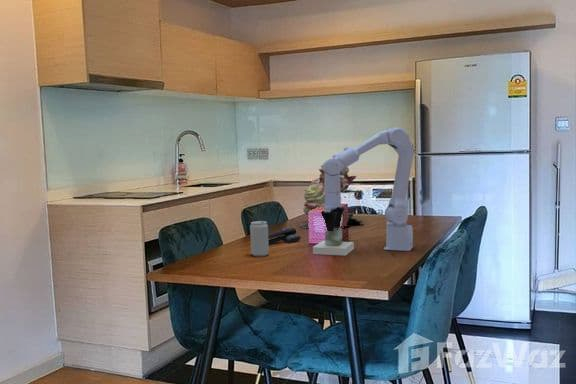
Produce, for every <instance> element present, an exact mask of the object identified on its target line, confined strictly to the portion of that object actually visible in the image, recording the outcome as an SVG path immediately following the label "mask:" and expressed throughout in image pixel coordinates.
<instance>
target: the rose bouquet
mask: <svg viewBox="0 0 576 384" xmlns="http://www.w3.org/2000/svg"><path fill="white" fill-rule="evenodd" d="M323 164H324V162H323ZM323 164H322V165H320V168H319V169H318V170H319V172H320V174H319V177H318V178H315V179H313V180H312V181H311V182H310V184H309V185H308V186H307V188H306V189H304V191H305V194H304V195H303V197H304V199H305V202H304V204H303V207H304V208H303V213H304V214H305V215H307V214H308V212H309V211H310V210H312V209H315V208H317V207H320V206H322V204H325V186H324V179H325V177H324V175H325V172H324V170H323ZM349 172H350V168H349V166H348V167H346V168H345V169H341V172H340V191H341V194H349V193H354V194H355V193H356V194H358V193H359V192H358V191H356V190H350V189H348V188H349V186H350V185H351V183H353V181H354V180H356V178H357V175H351V176H349V174H348V173H349ZM347 215H348V222H349V223H348V224H350V223H351V224H353V225H363V226H364V225H365V224H364V221H363V220H359V219H358V218H354V215H355V212H351V213H348V214H347ZM308 223H309V222H304V223H300V228H301V227H306V228H307V229H308ZM349 227H351V225H349ZM349 227H348V228H349ZM306 228H305V229H306Z"/></svg>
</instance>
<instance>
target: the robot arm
mask: <svg viewBox="0 0 576 384" xmlns="http://www.w3.org/2000/svg"><path fill="white" fill-rule="evenodd" d="M379 145H388V146H389V147H391V148H393V150H394V151H395V152H396V153H397V154H398V156H397V162H396V169H395V174H394V175H395V176H394V180H393V181H394V182H393V187H392V188H393V189H392V193H391V198H389V201H388V205H387V207H386V208H385V210H384V217H385V219H386V220H387V221H386V223H385V224H386V225H385V226H386V227H385V228H386V229H385V233H386V235H385V237H386V242H385V243H386V244H385V246H384V247H383V250H384V251H405V252H409V251H411V250H412V249H413V247H414V241H413V240H414V239H413V238H414V235H413V234H414V233H413V232H414V230H413V229H414V228H413V225H410V224H407V222H408V218H409V214H408V203H407V194H408V188H409V183H410V178H411V177H410V176H411V171H412V165H413V160H414V151H415V150H414V147H413V145H412V143H411V140H410V135H409V133H408V132H407V131H406V130H405V129H404V128H402V127H400V126H399V127H397V126H396V127H388V128H387V129H385V130H382V131H380V132H378V133H376V134H375V135H373V136H371V137H370V138H368V139H367V140H365V141H364V142H362V143H360V144H359V145H358V146H356V147H353V146H349V147H348V146H346V147H344V148H343V150H342V151H340V152H339V153H337V154H333V155H332V158H327V159H326V160H325V161H324V162H323V163H324V164H322V165H323V170H324V172H325V175H324V177H325V179H324V186H325V204H322V206H325V207H324V209H325V211H322V212H321V213H320V215H321V214H322V216H323V218H324V220H325V223H326V224H325V223H324V224H325V225H326V227H327V230H326V231H334V230H335V229H334V228H339V227H340V221H341V217H342V216H343V214H344V212H345V208H344V207H342V202H341V201H342V197H341V196H342V195H341V194H342V193H341V191H340V172H341V169H345V168H346V167H348V168H349V166H352V165H353V164H354V163H357V162H358V161H359V159H360V157H361V155H363V154H364V153H366V152H368V151H371V150H372V149H374V148H375V147H377V146H379ZM322 216H321V217H322ZM324 220H323V221H324Z"/></svg>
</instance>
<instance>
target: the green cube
mask: <svg viewBox="0 0 576 384" xmlns="http://www.w3.org/2000/svg"><path fill="white" fill-rule="evenodd" d="M324 241H325V246H340V245H341V244H342V242H343V229H338V230H335V229H334V231H327V230H326V231H324Z"/></svg>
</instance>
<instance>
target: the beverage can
mask: <svg viewBox="0 0 576 384" xmlns="http://www.w3.org/2000/svg"><path fill="white" fill-rule="evenodd" d="M249 231H250V233H249V234H250V254H251V255H253V257H266V256H268V254H269V253H270V248H269V247H270V246H269V241H268V240H269V239H268V234H269V225H268V221H266V220H264V221H263V220H257V221H255V220H254V221H251V222H250V225H249Z"/></svg>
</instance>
